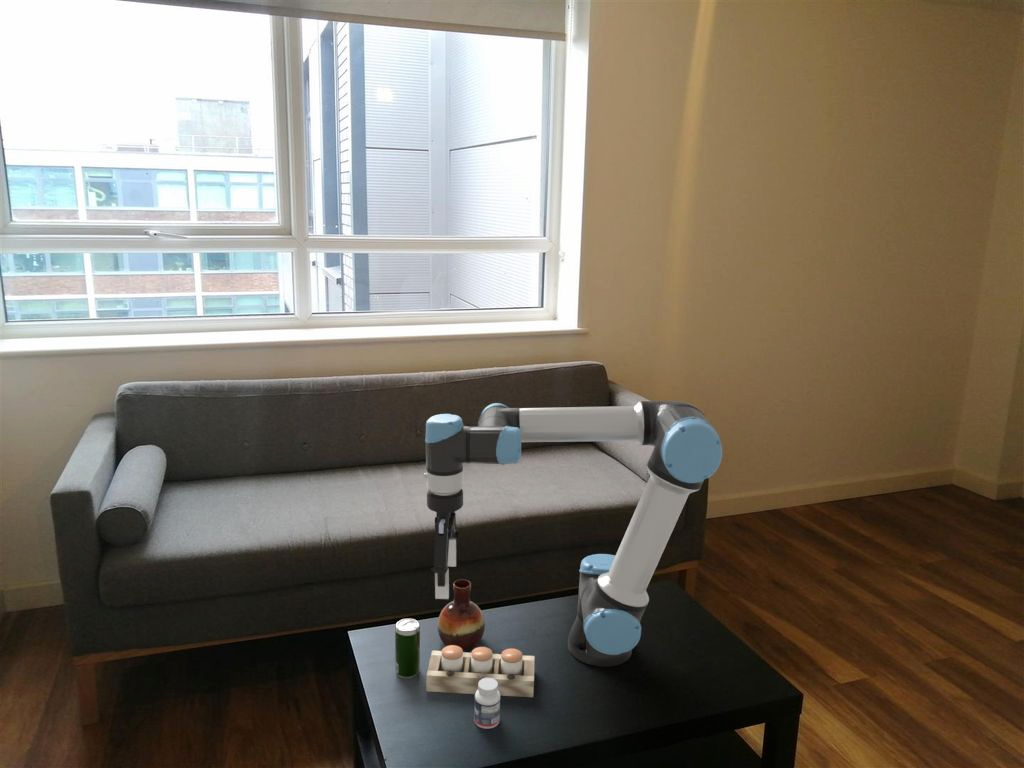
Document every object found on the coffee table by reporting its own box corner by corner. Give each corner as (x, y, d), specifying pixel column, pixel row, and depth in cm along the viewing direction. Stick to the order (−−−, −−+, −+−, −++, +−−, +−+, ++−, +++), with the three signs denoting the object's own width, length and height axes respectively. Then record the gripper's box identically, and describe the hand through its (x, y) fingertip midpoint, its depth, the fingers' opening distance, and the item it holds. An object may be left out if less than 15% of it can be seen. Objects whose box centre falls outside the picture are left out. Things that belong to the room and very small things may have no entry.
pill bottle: (473, 712, 165) (474, 675, 163) (498, 711, 166) (500, 675, 164) (474, 730, 160) (475, 692, 158) (500, 729, 161) (501, 691, 158)
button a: (521, 666, 177) (522, 649, 176) (521, 679, 172) (522, 661, 171) (501, 665, 177) (501, 647, 176) (500, 678, 172) (500, 660, 171)
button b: (492, 665, 177) (493, 647, 176) (491, 678, 172) (491, 659, 171) (472, 664, 177) (472, 646, 176) (470, 676, 173) (470, 658, 171)
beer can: (401, 682, 174) (401, 634, 171) (391, 669, 178) (391, 622, 175) (423, 674, 177) (424, 627, 174) (413, 662, 181) (413, 615, 178)
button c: (463, 663, 177) (463, 645, 176) (461, 676, 173) (461, 658, 171) (442, 662, 177) (443, 644, 176) (440, 675, 173) (440, 657, 172)
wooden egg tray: (533, 671, 179) (534, 655, 178) (533, 697, 171) (534, 680, 170) (431, 665, 180) (432, 649, 179) (426, 691, 171) (426, 674, 170)
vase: (455, 661, 182) (456, 601, 178) (428, 638, 190) (429, 580, 186) (493, 645, 189) (495, 586, 185) (466, 623, 197) (467, 567, 193)
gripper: (435, 466, 177) (436, 553, 182) (417, 513, 153) (419, 612, 158) (468, 467, 176) (469, 554, 182) (456, 515, 152) (457, 613, 158)
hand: (446, 581), depth 170 cm, fingers open, 13 cm apart
